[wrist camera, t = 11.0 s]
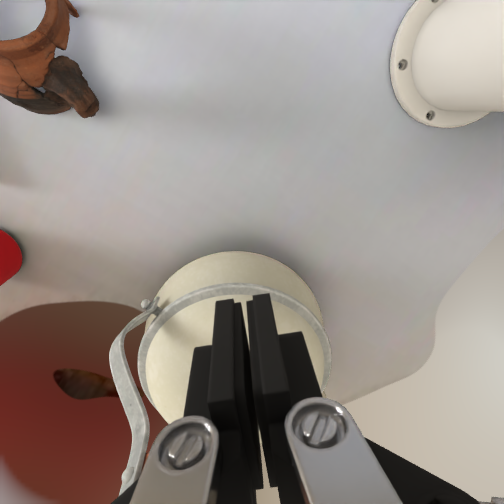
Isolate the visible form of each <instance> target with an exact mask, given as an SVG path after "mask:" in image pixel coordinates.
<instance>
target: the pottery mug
mask: <svg viewBox="0 0 504 504" xmlns="http://www.w3.org/2000/svg"><path fill="white" fill-rule="evenodd" d="M45 2H46V12H45V15H44V18H43V20H42V21H41V23H40V24H39V26H38V27H37V29H36V30H35V31H33V32H31V33H30V34H28V35H26V36H23V37H21V38H17V39H13V40H4V41H0V95H1V96H2V97H4V98H5V99H7V100H8V101H10V102H12V103H13V104H15V105H18V106H21V107H24V108H25V109H27V110H29V111H32V112H35V113H39V114H49V115H50V114H58V113H61V112H64V111H67V110H69V109H70V107H72V108H74V109H75V110H76V112H77V113H78V114H79V115H80V116H81V117H83V118H87V117H92V116H95V114H96V112H97V111H98V110H99V101H98V99H97V98H96V96H95V94H94V93H93V91H92V90H91V89H90V88H89V86H88V83H87V81H86V80H85V78H84V77H83V76H82V71H81V70H80V68H79V65H78V64H77V63H76V62H75V61H73V60H71V59H69V58H68V57H66V56H58V57H56V58H54V55H55V54H54V52H55V49H56V47H57V48H60V49H61V50H66V48H67V43H68V35H69V32H70V26H69V14H71V15H72V16H74V17H76V18H78V17H79V14H78V13H77V10H76V9H75V8H74V7H73V6H72V4H71V3H70V2H69V1H68V0H45ZM34 87H37V88H40V87H43V88H44V89H45V90H47V91H46V92H45V93H42V92H41V91H39V90H38V89H36V88H34Z"/></svg>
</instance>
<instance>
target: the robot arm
mask: <svg viewBox="0 0 504 504" xmlns="http://www.w3.org/2000/svg"><path fill="white" fill-rule="evenodd" d="M399 63H400V64H401V67H400V69H399V68H398V64H399ZM390 74H391V82H392V86H393V89H394V92H395V95H396V98H397V99H398V101H399V103H400V105H401V106H402V108H403V109H404V110H405V111H406V112H407V113H408V114H409V115H410V116H411V117H412V118H414V119H415V120H417V121H418V122H420V123H423V124H425V125H428V126H433V127H439V128H454V127H460V126H465V125H467V124H470V123H473V122H475V121H477V120H479V119H481V118H483V117H484V116H486V115H488V114H489V113H490V112H504V0H432V1H431V0H416V1H415V3H414V4H413V5H412V7H411V8H410V9H409V10H408V12H407V13H406V15H405V17H404V19H403V21H402V22H401V24H400V26H399V28H398V31H397V34H396V37H395V39H394V42H393V47H392V52H391V60H390ZM427 113H428V117H427V118H426V115H427ZM252 297H253V300H250V301H246V306H247V320H248V334H249V344H248V338H247V333H246V327H245V321H244V316H243V310H242V305H241V302H237V303H235V302H234V299H233V298H232V299H226V300H219V301H216V303H215V314H214V326H213V338H212V345H206V346H200V347H195V348H194V351H193V357H192V364H191V370H190V376H189V383H188V389H187V395H186V402H185V408H184V415H183V417H182V418H180V419H177V420H175V421H173V422H172V423H170V424H169V425H167V426H166V427H165V428H164V429H163V430H162V431H161V432H160V433H159V434H158V436H157V437H156V439H155V441H154V443H153V445H152V447H151V450H150V452H149V455H148V457H147V460H146V462H145V465H144V468H143V470H142V473H141V475H140V477H139V478H138V479H137V480H136V481H135V482H134V483H133V484H132V485H131V486H130V487H128V488H127V489H126V490H125V491H124V492H123V493H122V494H121V495H120V496H119V497H118V498H117V499H115V500H114V501H113V502H112V503H111V504H257V503H256V490H257V489H263V474H262V463H261V450H260V438H259V430H260V435H261V441H262V446H263V451H264V456H265V462H266V467H267V473H268V478H269V483H270V487H278V492H279V498H280V503H281V504H504V498H498V497H492V498H491V503H489V502H479V501H477V500H476V499H474V498H473V497H471V496H470V495H468V494H467V493H465V492H464V491H462V490H461V489H459V488H457V487H455V486H453V485H451V484H450V483H448V482H446V481H444V480H442V479H440V478H439V477H437V476H435V475H433V474H431V473H429V472H427V471H426V470H424V469H422V468H420V467H418V466H416V465H415V464H413V463H411V462H409V461H407V460H405V459H404V458H402V457H400V456H398V455H396V454H394V453H392V452H391V451H389V450H387V449H385V448H383V447H381V446H380V445H378V444H376V443H374V442H372V441H370V440H369V439H367V438H365V437H364V436H363V435H362V433H361V431H360V429H359V428H358V426H357V424H356V423H355V421H354V419H353V417H352V416H351V414H350V413H349V412H348V411H347V409H346V408H345V407H344V406H342V405H341V404H339V403H338V402H337V401H334V400H331V399H328V398H323V396H322V393H321V390H320V387H319V383H318V380H317V377H316V374H315V371H314V367H313V364H312V361H311V358H310V355H309V351H308V348H307V345H306V342H305V339H304V335H303V333H302V331H298V332H292V333H285V334H279V335H278V332H277V327H276V322H275V317H274V312H273V307H272V302H271V297H270V293H265V294H259V295H252ZM249 347H250V349H249ZM258 425H259V426H258Z"/></svg>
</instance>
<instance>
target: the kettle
mask: <svg viewBox="0 0 504 504" xmlns="http://www.w3.org/2000/svg"><path fill="white" fill-rule="evenodd" d="M265 293H270V297H271V302H272V307H273V312H274V317H275V322H276V327H277V332H278V335H279V334H285V333H292V332H298V331H302V333H303V335H304V339H305V342H306V345H307V348H308V351H309V355H310V358H311V361H312V364H313V367H314V371H315V374H316V377H317V380H318V383H319V387H320V390H321V393H322V396H323V398H327V397H326V395H325V393H324V391H323V390H324V388H325V386H326V384H327V381H328V378H329V375H330V370H331V362H332V356H331V347H330V343H329V339H328V336H327V334H326V331H325V329H324V327H323V320H322V316H321V312H320V309H319V306H318V303H317V301H316V299H315V297H314V295H313V293H312V292H311V290H310V289H309V287H308V286H307V284H306V283H305V282H304V281H303V280H302V279H301V278H300V277H299V276H298V275H297V274H296V273H295V272H294V271H293V270H292V269H290V268H289V267H287V266H286V265H284V264H282V263H281V262H279V261H277V260H275V259H273V258H270V257H268V256H264V255H261V254H257V253H252V252H244V251H227V252H219V253H214V254H210V255H207V256H204V257H201V258H199V259H196V260H194V261H192V262H190V263H189V264H187V265H185V266H184V267H182V268H181V269H179V270H178V271H177V272H176V273H174V274H173V275H172V276H171V277H170V278H169V279H168V280H167V281H166V282H165V283H164V285H163V286H162V287H161V289H160V290H159V292H158V293H157V295H156V297H155V299H154V300H153V301H152V302H151V303H150V301H149V300H148V299H144V300H143V301H142V302H141V307H142V308H143V309H146V311H145V312H144V313H142V314H140V315H139V316H137V317H136V318H134V319H133V320H132V321H131V322H129V323H128V324H127V326H126V327H125V328H124V329H123V330H122V332H121V333H120V334H119V335H118V336H117V338H116V339H115V341H114V342H113V344H112V346H111V349H110V356H109V360H110V367H111V371H112V375H113V379H114V382H115V385H116V388H117V391H118V394H119V396H120V399H121V402H122V404H123V407H124V409H125V412H126V415H127V417H128V420H129V423H130V426H131V430H132V448H131V453H130V458H129V461H128V465H127V469H126V470H125V471H124V472H123V474H122V482H123V483H122V487H121V490H120V494H119V496H120V495H121V494H122V493H123V492H124V491H125V490H126V489H127V488H128V487H130V486H131V485H132V484H133V483H134V482H135V481H136V480H137V479H138V478H139V477H140V475H141V473H142V470H143V468H144V465H145V462H146V460H147V457H148V455H149V453H146V449H147V444H148V439H149V420H148V416H147V413H146V410H145V407H144V404H143V402H142V399H141V397H140V394H139V392H138V390H137V387H136V385H135V382H134V380H133V378H132V375H131V372H130V369H129V366H128V363H127V360H126V357H125V352H124V344H123V343H124V338H125V335H126V333H127V332H129V331H130V330H131V329H133V328H134V327H136V326H137V325H139V324H141V323H143V322H144V321H146V320H147V321H146V328H145V334H144V336H143V339H142V341H141V344H140V348H139V353H138V374H139V378H140V382H141V385H142V388H143V390H144V392H145V394H146V396H147V397H148V399H149V400H150V402H151V403H152V405H153V406H154V407H155V408H156V409H157V410H158V411H159V413H160V414H161V415H162V416H163V418H164V419H165V420H166V421H167V422H168V423H169V424H170V423H172V422H173V421H175V420H177V419H180V418H182V417H183V415H184V408H185V402H186V395H187V389H188V383H189V376H190V370H191V364H192V357H193V351H194V348H195V347H200V346H206V345H212V338H213V326H214V314H215V303H216V301H219V300H226V299H232V298H233V299H234V302H235V303H237V302H241V305H242V310H243V316H244V321H245V327H246V333H247V338H248V344H249V334H248V320H247V306H246V301H250V300H253V297H252V295H259V294H265ZM249 349H250V347H249ZM258 426H259V425H258ZM259 438H260V444H262V441H261V435H260V430H259Z"/></svg>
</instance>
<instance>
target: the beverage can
mask: <svg viewBox="0 0 504 504" xmlns="http://www.w3.org/2000/svg"><path fill="white" fill-rule="evenodd" d="M21 265H22V253H21V250H20V248H19V246H18V244H17V243H16V241H15V240H14V239H13V238H12V237H11V236H10V235H9V234H7V233H6V232H4V231H2V230H0V286H1V285H2V284H3V283H5V282H6V281H7V280H8V279H10V278H11V277H12V276H14V275H15V274H16V273H17V272H18V271H19V269H20V267H21Z"/></svg>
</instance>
